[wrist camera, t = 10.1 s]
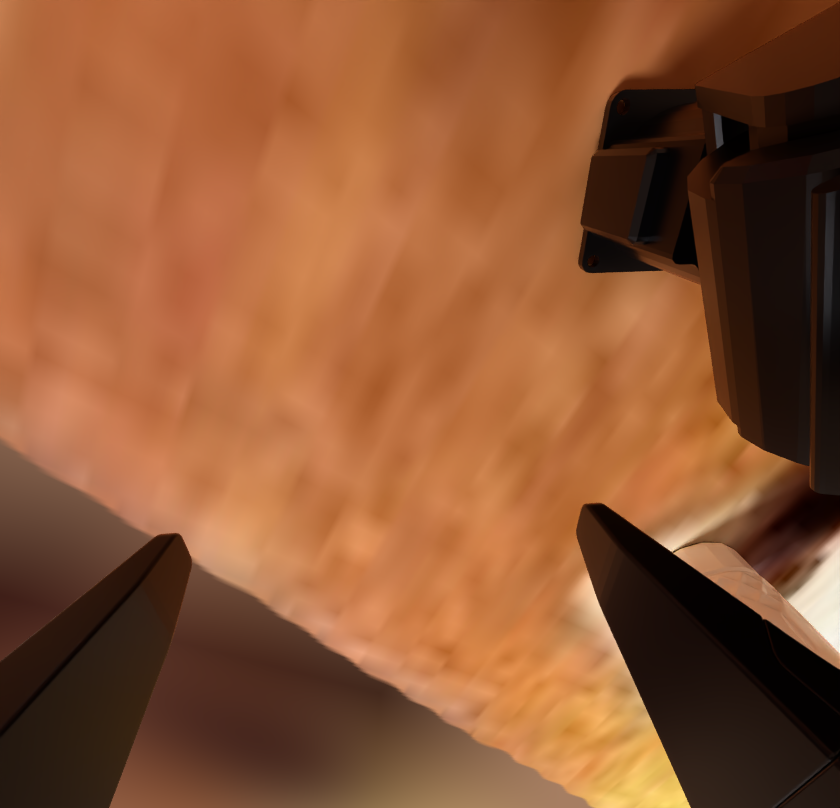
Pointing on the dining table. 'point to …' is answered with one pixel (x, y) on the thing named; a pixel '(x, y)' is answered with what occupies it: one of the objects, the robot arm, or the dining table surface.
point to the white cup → (755, 594)
